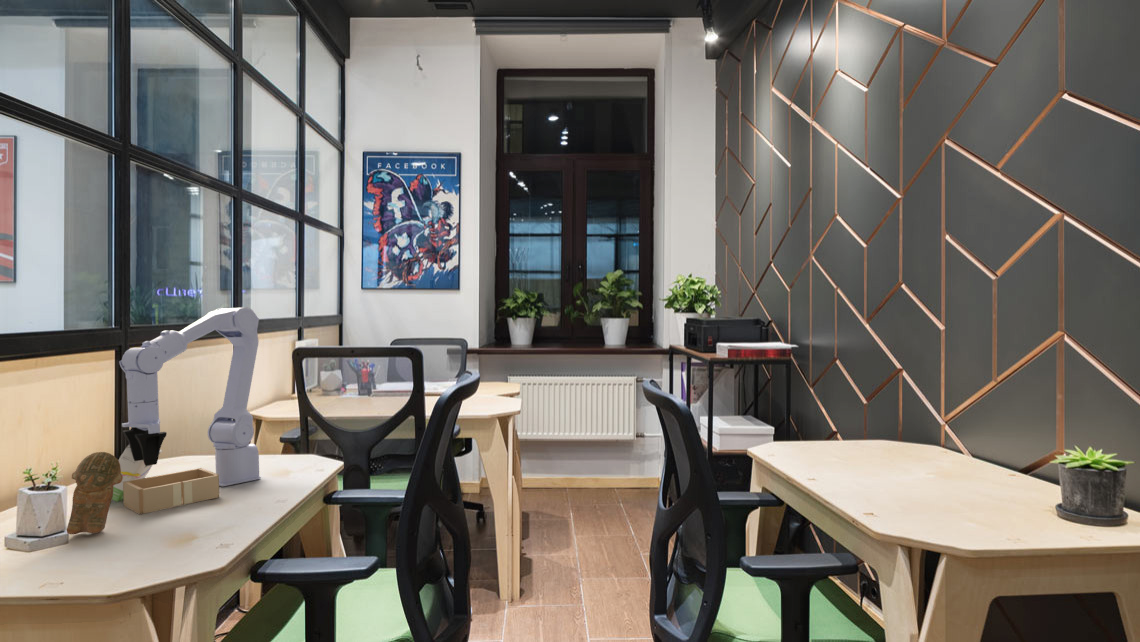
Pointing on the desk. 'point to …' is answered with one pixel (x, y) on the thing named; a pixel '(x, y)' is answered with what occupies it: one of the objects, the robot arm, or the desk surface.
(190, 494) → the flap
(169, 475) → the carton
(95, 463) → the figurine
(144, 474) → the ink box
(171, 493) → the flap
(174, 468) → the desk surface
